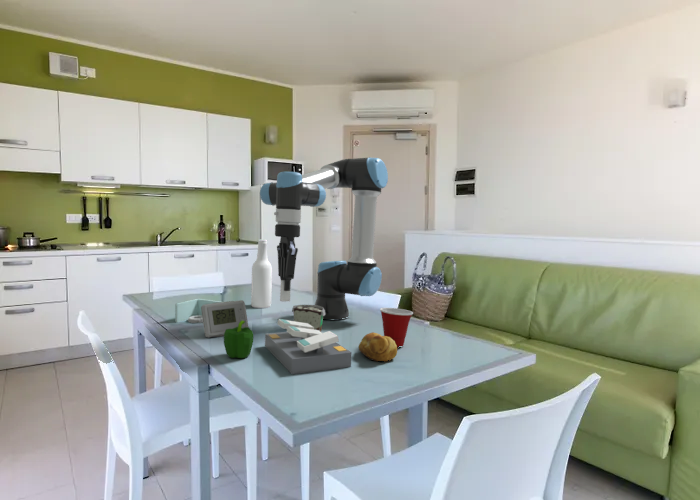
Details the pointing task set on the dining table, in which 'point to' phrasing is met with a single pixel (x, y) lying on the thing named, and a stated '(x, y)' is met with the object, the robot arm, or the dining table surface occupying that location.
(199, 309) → the l-shaped corner panel
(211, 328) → the digital clock
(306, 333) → the rocker
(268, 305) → the alcohol
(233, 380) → the dining table surface
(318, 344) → the white rectangular block
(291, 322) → the rocker
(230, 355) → the bell pepper
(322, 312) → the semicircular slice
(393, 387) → the dining table surface
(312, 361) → the switch unit
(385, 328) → the plastic cup
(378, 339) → the bread roll
